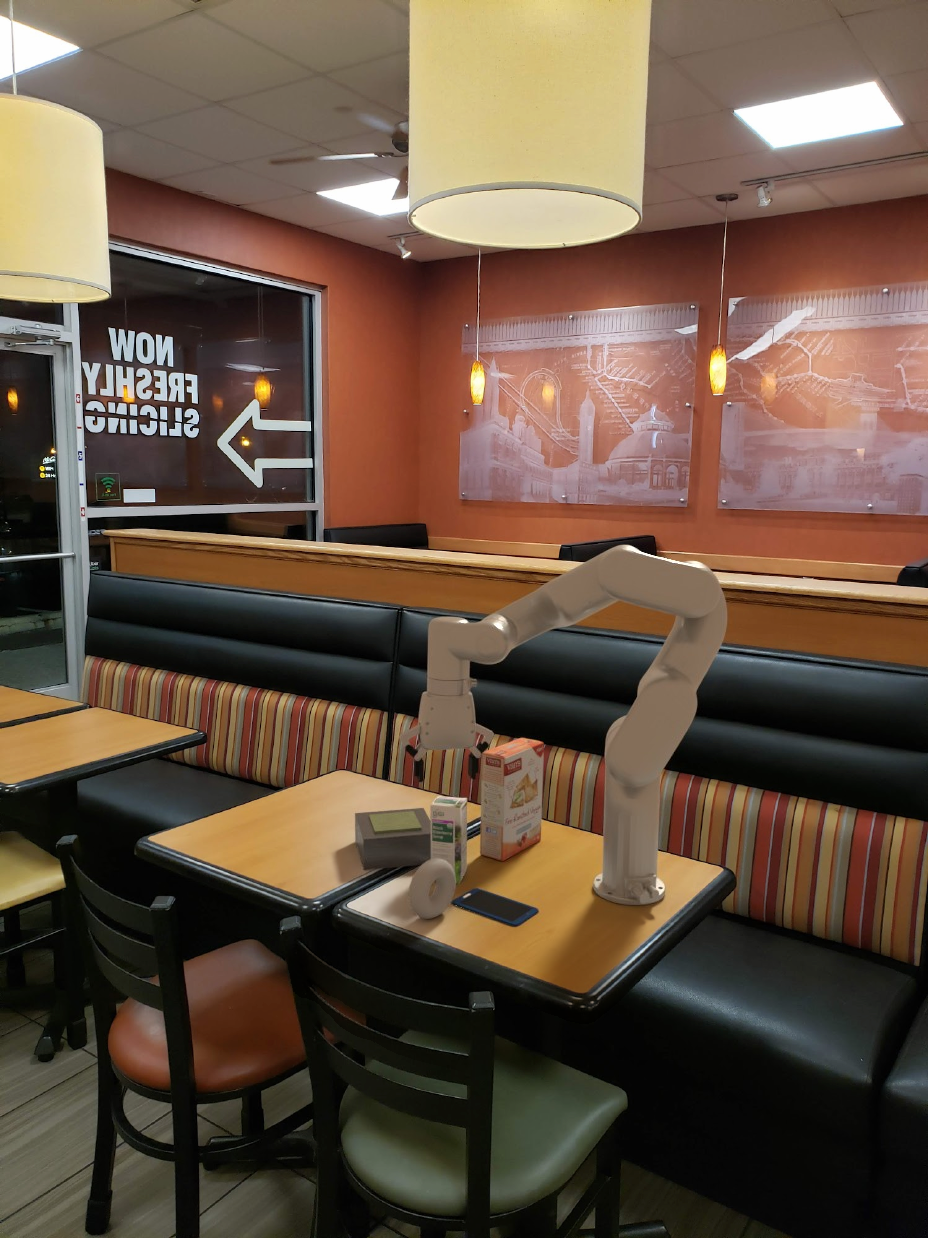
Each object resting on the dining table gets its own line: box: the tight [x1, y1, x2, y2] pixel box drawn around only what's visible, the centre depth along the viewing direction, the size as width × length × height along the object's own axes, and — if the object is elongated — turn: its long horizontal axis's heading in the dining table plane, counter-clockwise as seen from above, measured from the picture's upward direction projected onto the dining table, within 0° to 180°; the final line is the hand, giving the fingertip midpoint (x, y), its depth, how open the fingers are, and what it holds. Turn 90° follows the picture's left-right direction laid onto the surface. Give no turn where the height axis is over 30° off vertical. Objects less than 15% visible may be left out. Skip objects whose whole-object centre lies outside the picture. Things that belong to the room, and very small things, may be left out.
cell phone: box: [450, 887, 539, 928], centre depth 155 cm, size 7×14×1 cm, turn 53°
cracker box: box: [479, 737, 545, 862], centre depth 178 cm, size 14×6×21 cm, turn 143°
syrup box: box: [429, 795, 468, 884], centre depth 166 cm, size 6×6×14 cm
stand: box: [354, 807, 431, 871], centre depth 177 cm, size 14×14×6 cm
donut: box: [408, 858, 457, 920], centre depth 150 cm, size 10×4×10 cm, turn 139°
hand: (446, 778), depth 164 cm, fingers open, 9 cm apart
